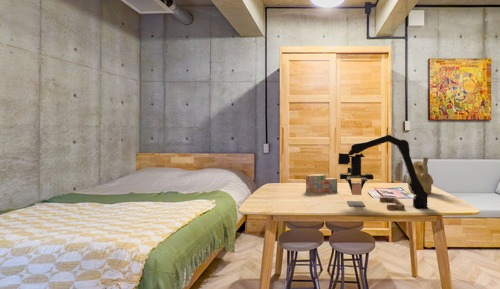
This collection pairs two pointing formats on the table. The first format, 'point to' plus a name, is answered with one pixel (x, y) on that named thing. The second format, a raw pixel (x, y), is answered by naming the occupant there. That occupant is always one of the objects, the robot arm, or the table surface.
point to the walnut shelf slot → (392, 207)
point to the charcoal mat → (355, 204)
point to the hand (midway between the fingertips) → (356, 190)
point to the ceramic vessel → (423, 175)
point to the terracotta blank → (356, 188)
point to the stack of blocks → (320, 184)
